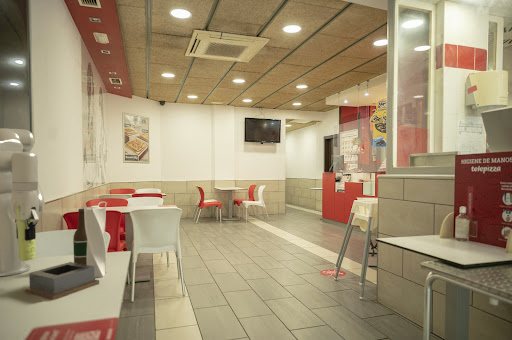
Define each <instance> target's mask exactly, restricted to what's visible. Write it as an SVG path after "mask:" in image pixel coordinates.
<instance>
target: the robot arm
mask: <svg viewBox="0 0 512 340" xmlns="http://www.w3.org/2000/svg"><path fill="white" fill-rule="evenodd" d="M34 145H35V136H34V134H33V133H32V131H30V130H28V129H24V128H22V129H21V128H20V129H19V128H7V127H5V128H3V127H2V128H0V277H6V276H8V277H9V276H13V275H18V274H22V273H25V272H27V271H29V270H30V269H31V265H30V264H26V263H27V261H20V260H19V259H18V226H17V206H19V211H20V212H19V220H21V221H25V225H26V229H25V240H26V241H28V240H33V239H35V240H36V236H37V235H36V228H37V224H38V223H39V221H40V218H39V216H40V213H42V212H43V211H44V210H45V204H46V203H45V197H44V195H43V192H42V189H41V186H40V183H39V175H38V173H39V172H38V155H37V153H35V152H33V151H32V150H33V148H34ZM31 151H32V152H31ZM29 218H32V219H30V220H28V219H29ZM29 221H32V222H30V223H29Z"/></svg>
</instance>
